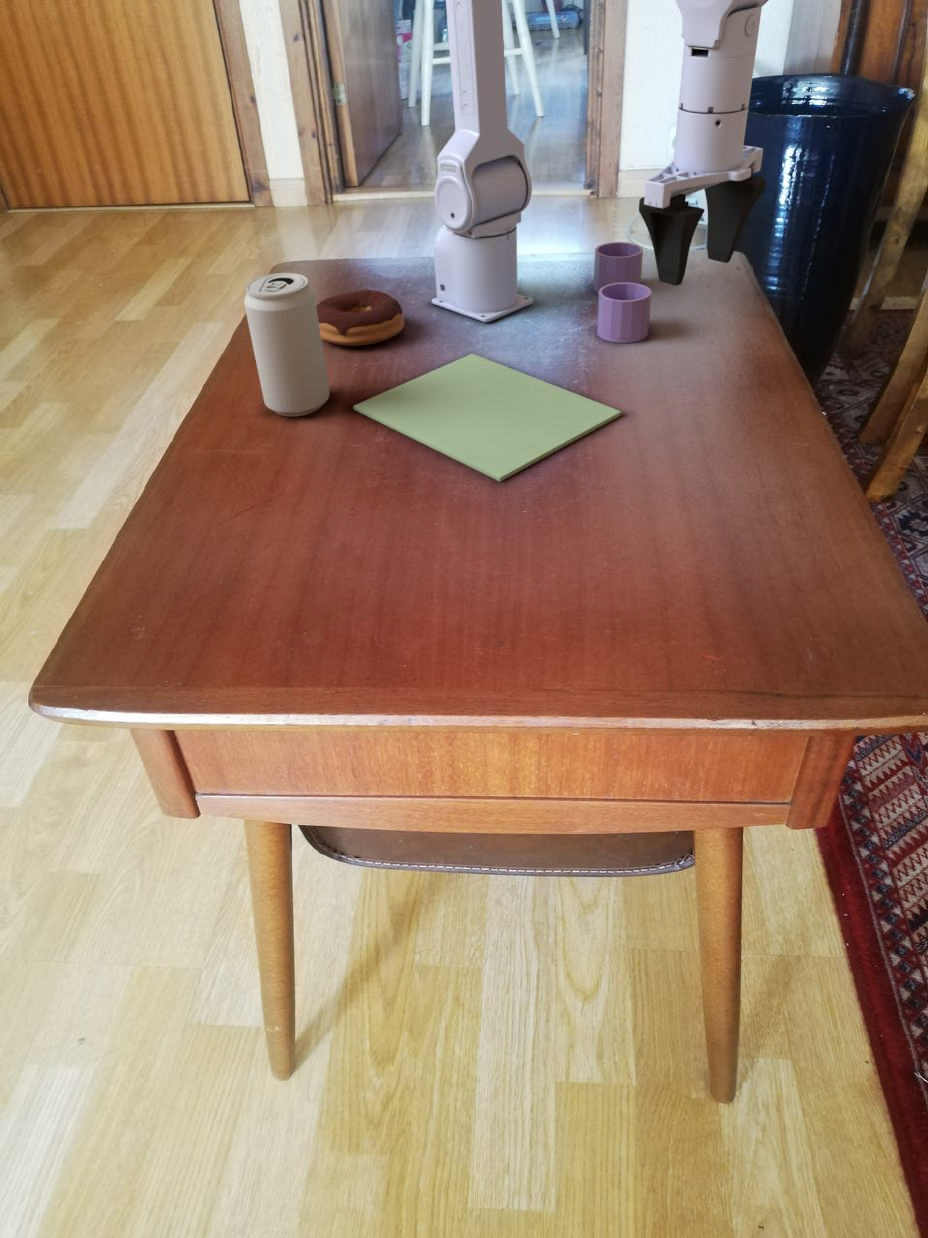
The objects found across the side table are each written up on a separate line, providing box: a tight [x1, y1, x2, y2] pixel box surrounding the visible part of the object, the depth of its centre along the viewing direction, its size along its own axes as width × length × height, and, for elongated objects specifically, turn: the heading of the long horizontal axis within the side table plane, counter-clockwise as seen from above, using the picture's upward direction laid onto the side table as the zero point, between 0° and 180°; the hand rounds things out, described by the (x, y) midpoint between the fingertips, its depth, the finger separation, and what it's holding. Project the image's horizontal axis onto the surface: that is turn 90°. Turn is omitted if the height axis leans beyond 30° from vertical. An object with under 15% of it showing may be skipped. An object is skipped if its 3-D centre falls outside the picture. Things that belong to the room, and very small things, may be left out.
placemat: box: [352, 353, 622, 483], centre depth 88 cm, size 20×16×1 cm
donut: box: [316, 289, 405, 347], centre depth 102 cm, size 10×10×4 cm
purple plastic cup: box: [592, 241, 644, 294], centre depth 110 cm, size 6×6×4 cm
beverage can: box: [243, 272, 330, 417], centre depth 87 cm, size 6×6×12 cm
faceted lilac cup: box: [596, 282, 653, 344], centre depth 99 cm, size 6×6×4 cm
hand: (695, 270), depth 86 cm, fingers open, 7 cm apart
